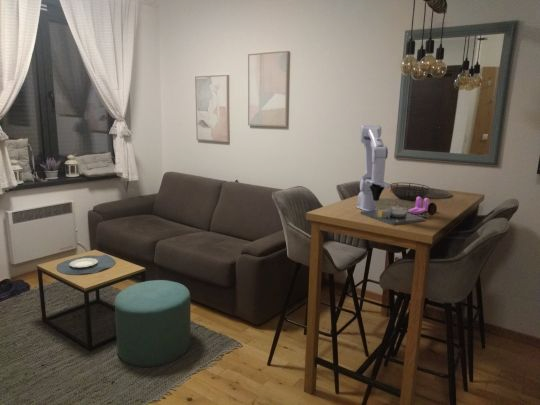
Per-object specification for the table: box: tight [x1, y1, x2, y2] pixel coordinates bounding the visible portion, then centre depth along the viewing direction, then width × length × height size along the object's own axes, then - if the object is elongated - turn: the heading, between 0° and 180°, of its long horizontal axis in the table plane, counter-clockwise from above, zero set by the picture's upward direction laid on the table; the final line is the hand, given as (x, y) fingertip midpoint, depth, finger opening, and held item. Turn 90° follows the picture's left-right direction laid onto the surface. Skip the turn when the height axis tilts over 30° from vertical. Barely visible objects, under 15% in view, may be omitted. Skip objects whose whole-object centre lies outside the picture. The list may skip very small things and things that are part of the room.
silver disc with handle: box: [378, 204, 408, 217], centre depth 194 cm, size 15×9×4 cm, turn 117°
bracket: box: [407, 196, 430, 215], centre depth 210 cm, size 13×6×7 cm, turn 135°
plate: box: [360, 208, 425, 226], centre depth 197 cm, size 22×20×1 cm
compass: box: [417, 202, 438, 220], centre depth 198 cm, size 8×8×7 cm
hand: (375, 200), depth 196 cm, fingers closed
